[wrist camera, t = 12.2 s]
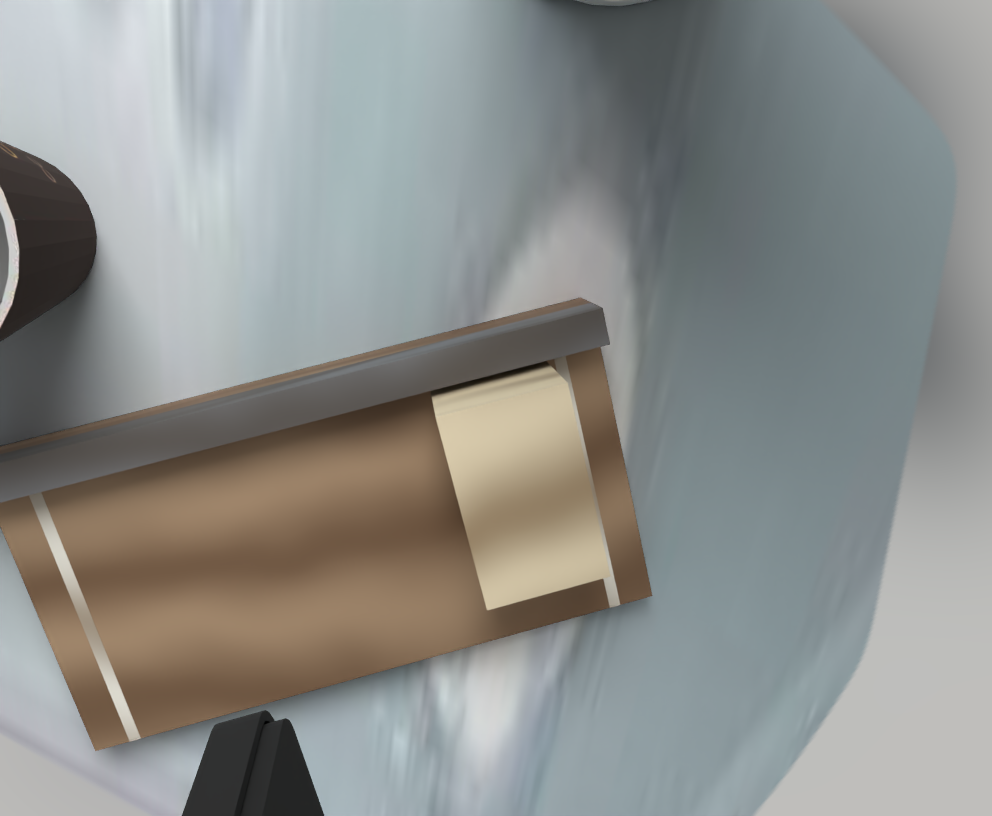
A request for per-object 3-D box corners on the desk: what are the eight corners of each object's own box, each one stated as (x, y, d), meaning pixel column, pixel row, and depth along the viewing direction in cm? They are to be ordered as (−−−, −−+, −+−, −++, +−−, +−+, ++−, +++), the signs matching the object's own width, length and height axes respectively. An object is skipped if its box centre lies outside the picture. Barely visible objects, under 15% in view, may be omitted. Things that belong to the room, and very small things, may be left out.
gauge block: (430, 388, 35) (435, 417, 30) (544, 359, 35) (567, 382, 31) (478, 570, 37) (490, 624, 32) (585, 540, 38) (613, 589, 33)
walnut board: (-5, 447, 35) (-54, 476, 32) (580, 297, 37) (602, 307, 33) (110, 724, 39) (78, 780, 35) (639, 577, 41) (665, 616, 37)
